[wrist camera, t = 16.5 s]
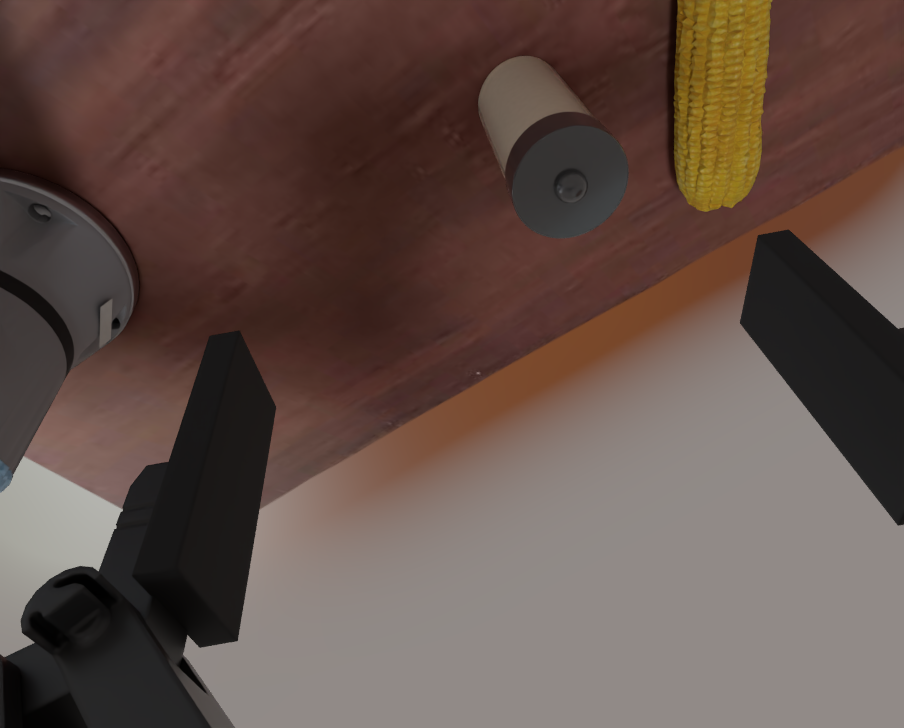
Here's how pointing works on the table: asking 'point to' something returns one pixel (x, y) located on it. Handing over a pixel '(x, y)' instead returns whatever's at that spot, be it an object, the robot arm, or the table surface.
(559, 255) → the table surface
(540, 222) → the pepper mill
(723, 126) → the food
